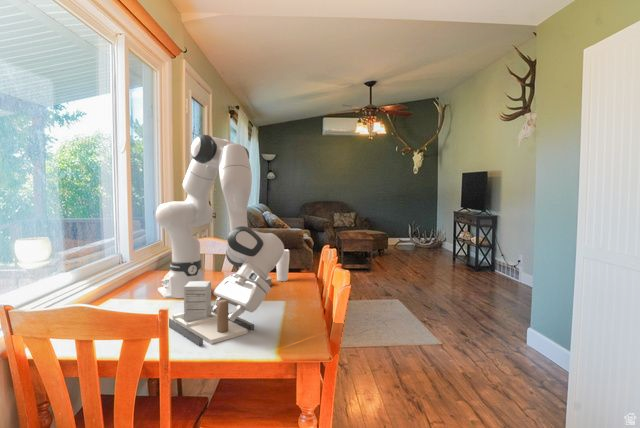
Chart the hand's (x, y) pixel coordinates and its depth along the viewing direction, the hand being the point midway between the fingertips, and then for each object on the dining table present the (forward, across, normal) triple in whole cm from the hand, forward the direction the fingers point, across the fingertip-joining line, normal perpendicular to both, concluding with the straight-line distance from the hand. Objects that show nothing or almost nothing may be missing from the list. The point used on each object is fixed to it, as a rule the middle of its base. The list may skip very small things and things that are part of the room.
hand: (221, 315), depth 111 cm
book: (-26, -49, +36) cm, 66 cm away
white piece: (-36, -43, +45) cm, 72 cm away
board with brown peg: (+4, -9, +4) cm, 11 cm away
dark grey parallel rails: (+4, -10, +5) cm, 12 cm away
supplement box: (+4, -16, +5) cm, 17 cm away
